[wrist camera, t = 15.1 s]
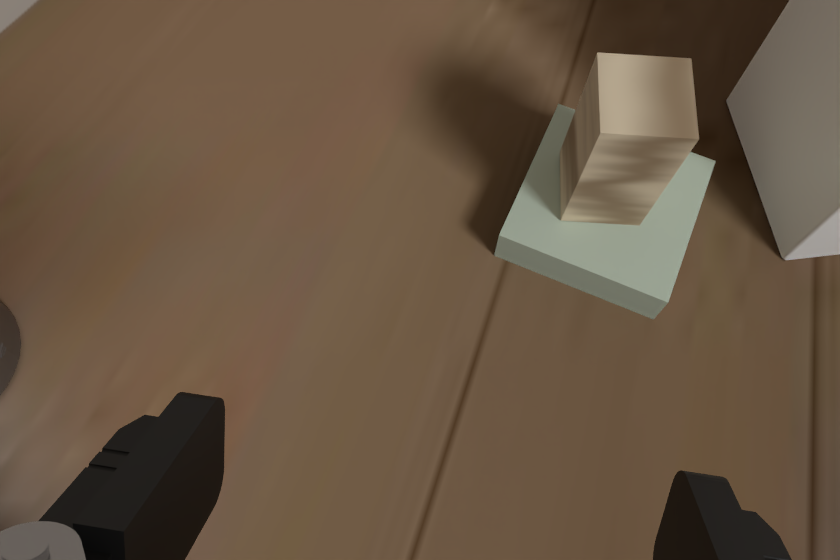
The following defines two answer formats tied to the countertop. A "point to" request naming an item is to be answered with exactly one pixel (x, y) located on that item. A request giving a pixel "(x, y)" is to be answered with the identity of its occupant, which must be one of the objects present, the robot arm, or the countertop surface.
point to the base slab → (603, 232)
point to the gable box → (795, 127)
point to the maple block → (627, 137)
